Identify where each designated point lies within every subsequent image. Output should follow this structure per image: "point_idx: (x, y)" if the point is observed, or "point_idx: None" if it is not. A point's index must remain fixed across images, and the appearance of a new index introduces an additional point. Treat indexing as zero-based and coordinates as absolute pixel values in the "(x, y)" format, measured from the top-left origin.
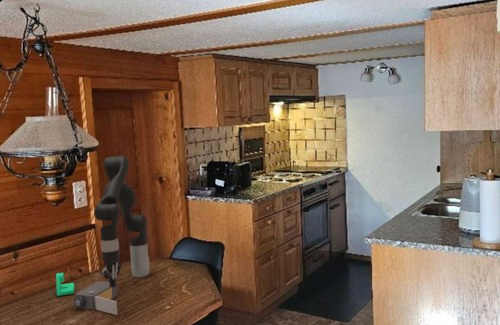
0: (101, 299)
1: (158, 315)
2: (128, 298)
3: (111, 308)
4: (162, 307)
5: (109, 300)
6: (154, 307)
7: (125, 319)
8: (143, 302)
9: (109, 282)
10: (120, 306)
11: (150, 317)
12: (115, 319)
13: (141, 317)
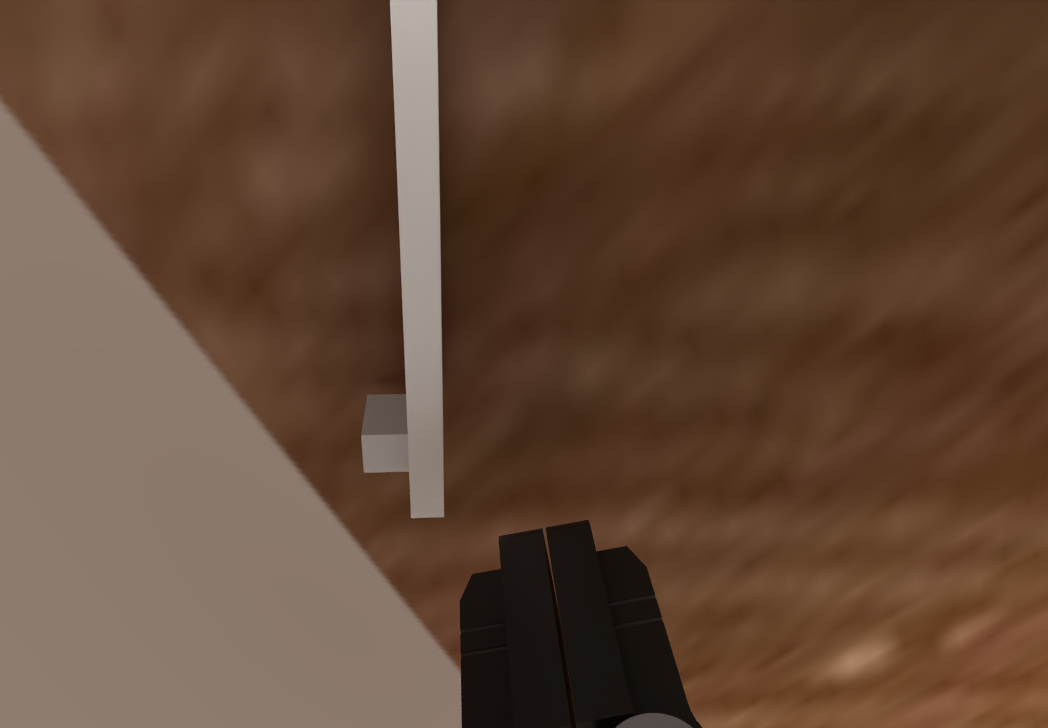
0: (398, 150)
1: None
2: (1035, 55)
3: (364, 418)
4: (826, 633)
5: (406, 393)
6: (804, 576)
7: (396, 550)
8: (918, 378)
9: (461, 673)
10: (701, 197)
11: None
12: (328, 462)
13: None
